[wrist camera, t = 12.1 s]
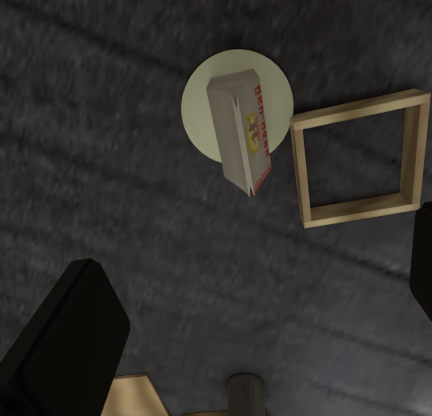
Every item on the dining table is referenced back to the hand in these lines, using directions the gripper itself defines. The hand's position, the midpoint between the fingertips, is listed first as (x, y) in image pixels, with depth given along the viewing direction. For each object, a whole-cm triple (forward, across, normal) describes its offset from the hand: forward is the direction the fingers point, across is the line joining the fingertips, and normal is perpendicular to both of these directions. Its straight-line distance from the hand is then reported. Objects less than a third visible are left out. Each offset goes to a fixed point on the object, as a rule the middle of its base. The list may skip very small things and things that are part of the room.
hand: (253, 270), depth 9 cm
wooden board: (+22, +30, +44) cm, 58 cm away
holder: (+22, -10, +7) cm, 25 cm away
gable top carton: (+21, 0, 0) cm, 21 cm away
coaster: (+22, 0, 0) cm, 22 cm away
